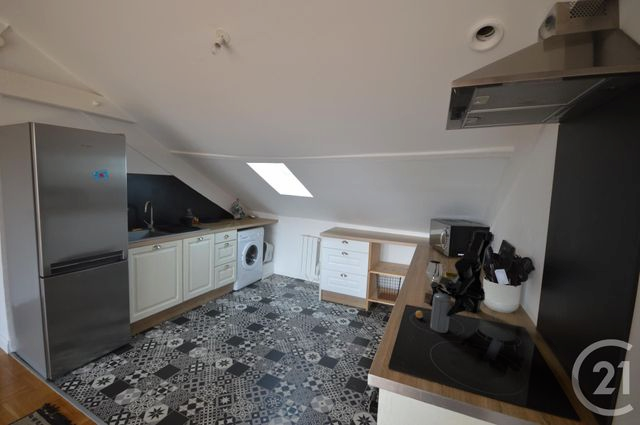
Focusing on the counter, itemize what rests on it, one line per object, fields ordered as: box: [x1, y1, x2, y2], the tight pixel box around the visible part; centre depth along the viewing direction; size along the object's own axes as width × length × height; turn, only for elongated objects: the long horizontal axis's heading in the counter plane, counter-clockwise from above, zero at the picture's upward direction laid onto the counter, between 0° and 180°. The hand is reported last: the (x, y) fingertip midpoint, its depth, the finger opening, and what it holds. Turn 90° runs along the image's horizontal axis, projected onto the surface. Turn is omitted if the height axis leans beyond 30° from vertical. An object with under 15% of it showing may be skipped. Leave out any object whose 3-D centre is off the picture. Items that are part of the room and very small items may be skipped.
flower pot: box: [444, 271, 457, 279], centre depth 160 cm, size 9×9×9 cm
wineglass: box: [425, 260, 443, 291], centre depth 152 cm, size 8×8×18 cm
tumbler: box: [429, 293, 452, 334], centre depth 115 cm, size 6×6×14 cm
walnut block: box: [423, 289, 433, 304], centre depth 143 cm, size 5×5×5 cm
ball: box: [414, 310, 424, 319], centre depth 124 cm, size 3×3×3 cm
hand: (438, 310), depth 115 cm, fingers open, 9 cm apart
